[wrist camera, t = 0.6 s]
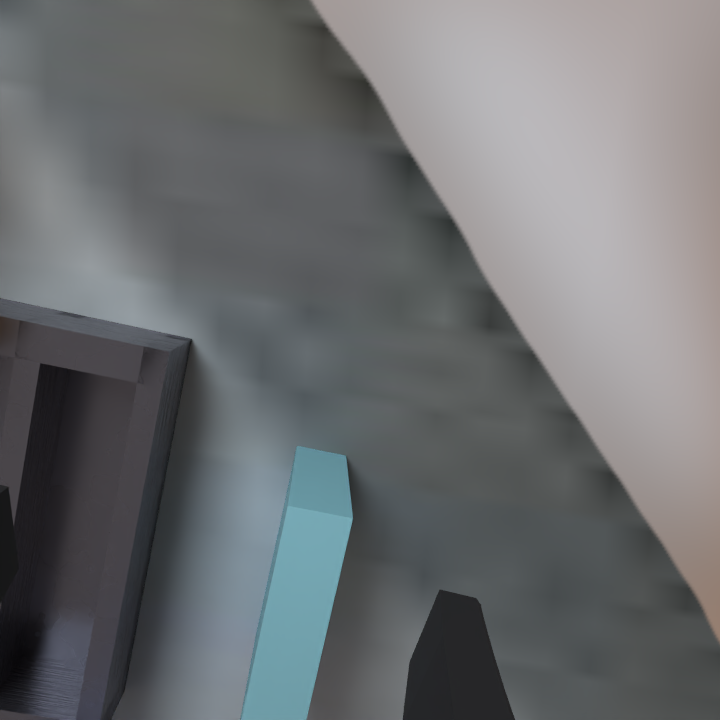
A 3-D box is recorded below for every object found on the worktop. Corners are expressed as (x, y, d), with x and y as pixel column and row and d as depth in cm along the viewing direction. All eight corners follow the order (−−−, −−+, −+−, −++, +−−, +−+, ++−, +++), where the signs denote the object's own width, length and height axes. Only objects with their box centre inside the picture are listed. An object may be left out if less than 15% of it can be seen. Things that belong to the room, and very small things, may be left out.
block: (302, 645, 33) (296, 763, 25) (255, 636, 33) (234, 753, 25) (346, 455, 32) (353, 518, 24) (297, 445, 32) (287, 505, 24)
